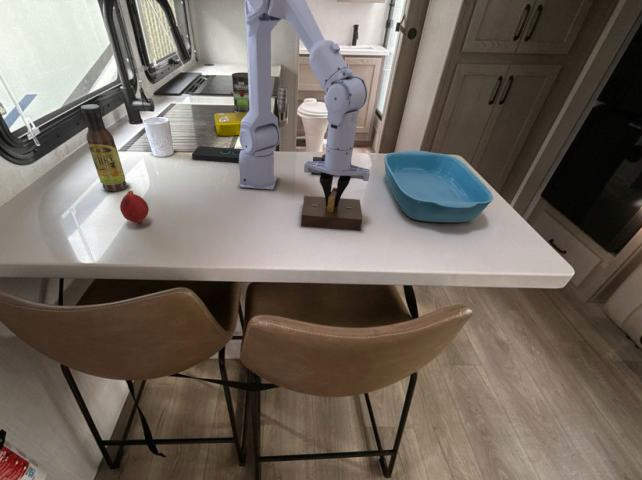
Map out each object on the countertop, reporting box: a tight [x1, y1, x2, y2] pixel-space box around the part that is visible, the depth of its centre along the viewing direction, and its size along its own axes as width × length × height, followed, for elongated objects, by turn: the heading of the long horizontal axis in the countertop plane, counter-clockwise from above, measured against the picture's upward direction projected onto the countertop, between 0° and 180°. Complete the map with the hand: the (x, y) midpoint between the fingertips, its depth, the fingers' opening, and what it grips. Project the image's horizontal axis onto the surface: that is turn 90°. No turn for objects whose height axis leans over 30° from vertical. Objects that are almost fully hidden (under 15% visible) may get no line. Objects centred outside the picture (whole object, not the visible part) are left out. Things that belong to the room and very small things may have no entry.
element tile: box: [213, 112, 248, 137], centre depth 129 cm, size 15×15×5 cm
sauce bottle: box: [80, 103, 127, 192], centre depth 84 cm, size 6×6×20 cm
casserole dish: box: [384, 150, 494, 223], centre depth 89 cm, size 37×22×7 cm, turn 179°
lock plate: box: [300, 195, 363, 232], centre depth 81 cm, size 14×10×3 cm
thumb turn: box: [327, 186, 337, 212], centre depth 78 cm, size 6×1×4 cm, turn 164°
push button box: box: [310, 153, 340, 178], centre depth 102 cm, size 12×9×4 cm
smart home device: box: [191, 145, 244, 164], centre depth 109 cm, size 8×2×20 cm
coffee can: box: [231, 72, 249, 113], centre depth 145 cm, size 10×10×14 cm
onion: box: [119, 189, 150, 224], centre depth 75 cm, size 6×6×8 cm
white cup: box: [142, 116, 175, 158], centre depth 107 cm, size 8×8×10 cm
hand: (332, 205), depth 79 cm, fingers closed on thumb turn
